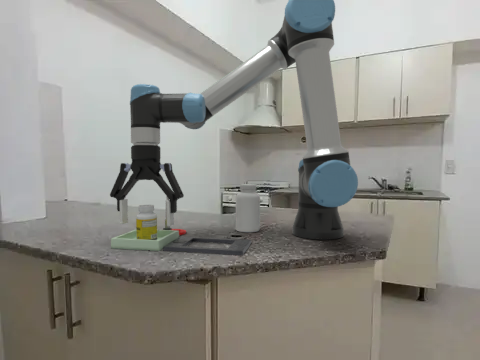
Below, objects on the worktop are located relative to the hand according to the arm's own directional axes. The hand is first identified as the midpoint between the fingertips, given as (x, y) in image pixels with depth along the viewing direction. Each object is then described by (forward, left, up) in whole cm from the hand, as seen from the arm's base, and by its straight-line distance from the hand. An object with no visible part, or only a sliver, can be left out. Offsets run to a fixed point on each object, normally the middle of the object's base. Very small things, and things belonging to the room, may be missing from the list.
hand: (146, 224), depth 86 cm
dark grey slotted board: (-18, 0, -5) cm, 18 cm away
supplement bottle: (0, 0, -5) cm, 5 cm away
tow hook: (-2, -13, -6) cm, 14 cm away
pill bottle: (-24, -23, -5) cm, 33 cm away
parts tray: (0, 0, -5) cm, 5 cm away
